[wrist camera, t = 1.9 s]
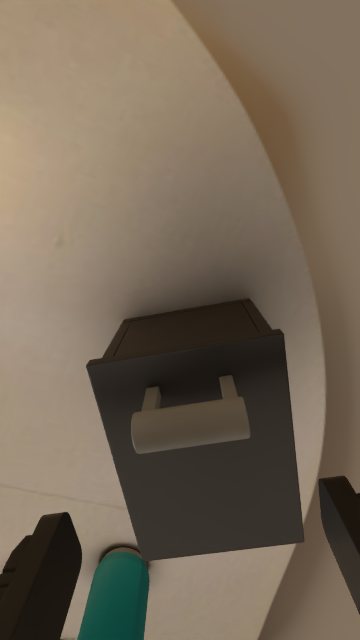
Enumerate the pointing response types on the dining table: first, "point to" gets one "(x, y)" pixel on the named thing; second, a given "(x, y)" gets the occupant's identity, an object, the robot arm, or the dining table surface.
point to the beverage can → (117, 598)
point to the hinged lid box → (187, 327)
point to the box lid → (203, 444)
